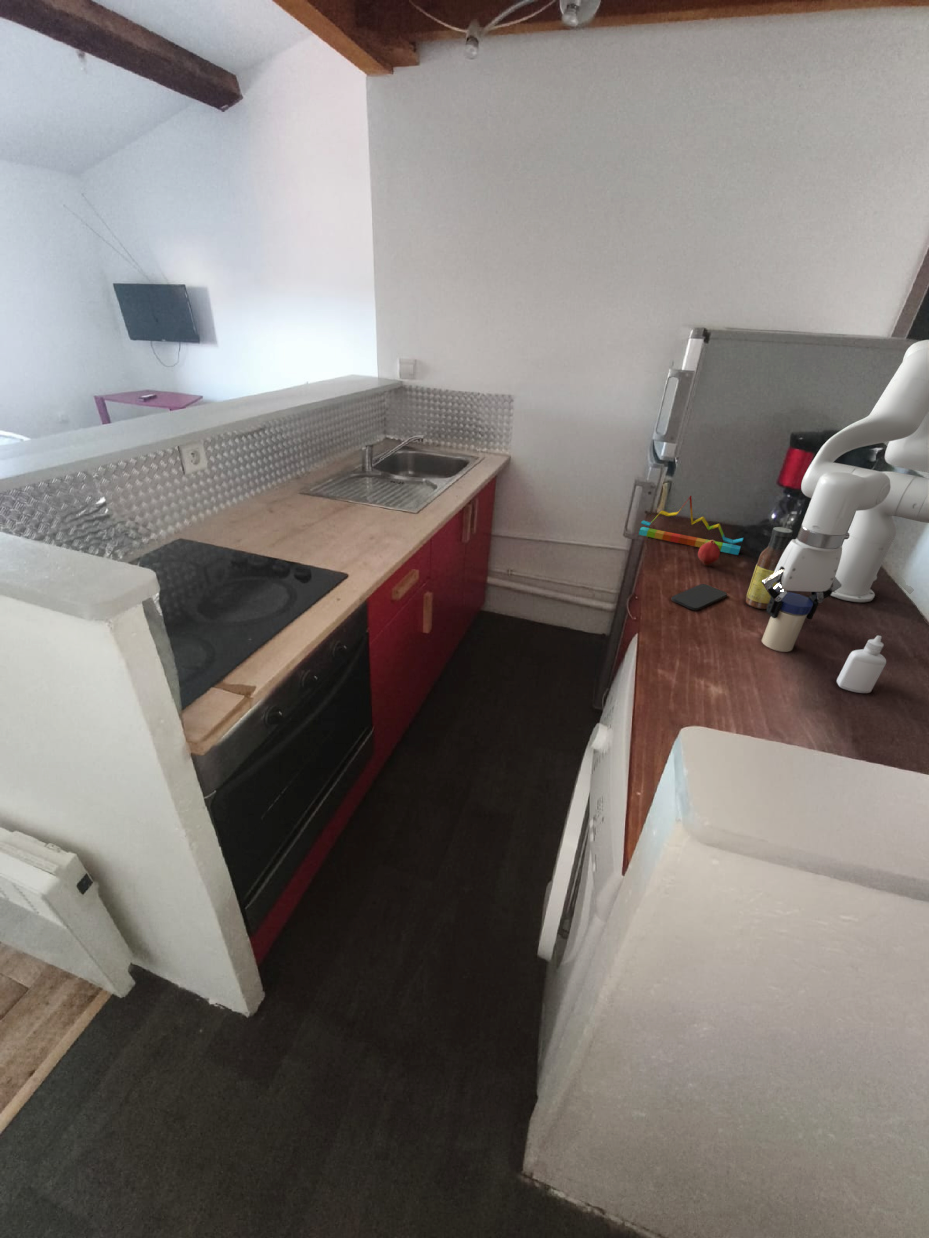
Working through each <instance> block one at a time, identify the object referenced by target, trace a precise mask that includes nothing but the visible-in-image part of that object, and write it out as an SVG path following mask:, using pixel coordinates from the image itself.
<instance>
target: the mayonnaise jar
mask: <svg viewBox="0 0 929 1238" xmlns="http://www.w3.org/2000/svg"><path fill="white" fill-rule="evenodd" d="M806 617H807V614H806V615H796V614H791V613H787V612H785V611H782V610H780V611H779V614H778V616H777V618H772V617H771V616H770V617H769V619H768V622H767V625H766V627H765V631H764V633H763V635H762V637H761V643H762V644H763V645H764V646H765V647H767V648H769V649H771V650H773V651H777V652H782V653H787V652H791V651H793V649H794V647H795V645H796V643H797V640H798V637H799V636H800V633H801V631H802V629H803V626H804V623H805V621H806V619H807V618H806Z"/></svg>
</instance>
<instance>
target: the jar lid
mask: <svg viewBox="0 0 929 1238" xmlns="http://www.w3.org/2000/svg"><path fill="white" fill-rule="evenodd" d="M781 601H782V603H783V604H782V606H781V609H780V610H782V611H785V612H787V613H791V614H796V615H806V614H808V613H810V611H811V609H812V606H813V602H812V600H810V599H809V598H807V596H805V595H802V594H799V593H795V592H792V591H789V592H788V593H787V594H786V595H785V596H784V597H783V598H782V599H781Z"/></svg>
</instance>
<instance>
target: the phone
mask: <svg viewBox="0 0 929 1238" xmlns="http://www.w3.org/2000/svg"><path fill="white" fill-rule="evenodd" d="M727 596H728V593H727V592H726V591H723V590H721V589H718V588H716V587H714V586H711V585H709V584H706V583H701V584H698V585H695V586H694V587H691V588H688V589H687V590H684V591H681V592H679V593H677V594H674V595H673V596H671V601H672V602H674V603H676V604H679V605H681V606H683V607H685V608H687V609H689V610H691V611H699V610H701V609H703V608H706V607H707V606H710V605H712V604H714V603H717V602H718V601H721V600H723V599H724V598H726V597H727Z"/></svg>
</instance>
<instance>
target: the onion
mask: <svg viewBox="0 0 929 1238" xmlns="http://www.w3.org/2000/svg"><path fill="white" fill-rule="evenodd" d="M710 540H711V541H710V542H707V543H705V544H703V545H702V546H701V547H699V548H698V550H697V551H698V552H697V557H698V559H699V561H700V562H701V563H702V564H703V566H709V565H711V564H714V563H715V562H716V561H718V560H719V558H720V556H721V552H720V549H719V547H718V545H717V544H716V543H715V541H716V540H714V539H710Z"/></svg>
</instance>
